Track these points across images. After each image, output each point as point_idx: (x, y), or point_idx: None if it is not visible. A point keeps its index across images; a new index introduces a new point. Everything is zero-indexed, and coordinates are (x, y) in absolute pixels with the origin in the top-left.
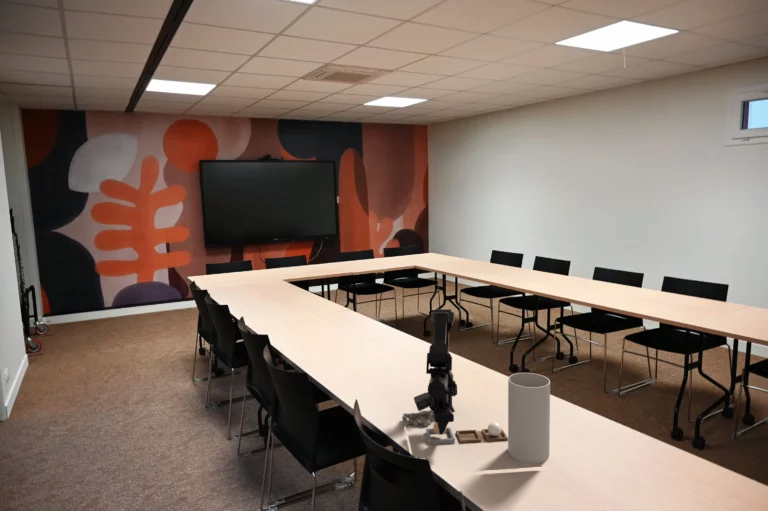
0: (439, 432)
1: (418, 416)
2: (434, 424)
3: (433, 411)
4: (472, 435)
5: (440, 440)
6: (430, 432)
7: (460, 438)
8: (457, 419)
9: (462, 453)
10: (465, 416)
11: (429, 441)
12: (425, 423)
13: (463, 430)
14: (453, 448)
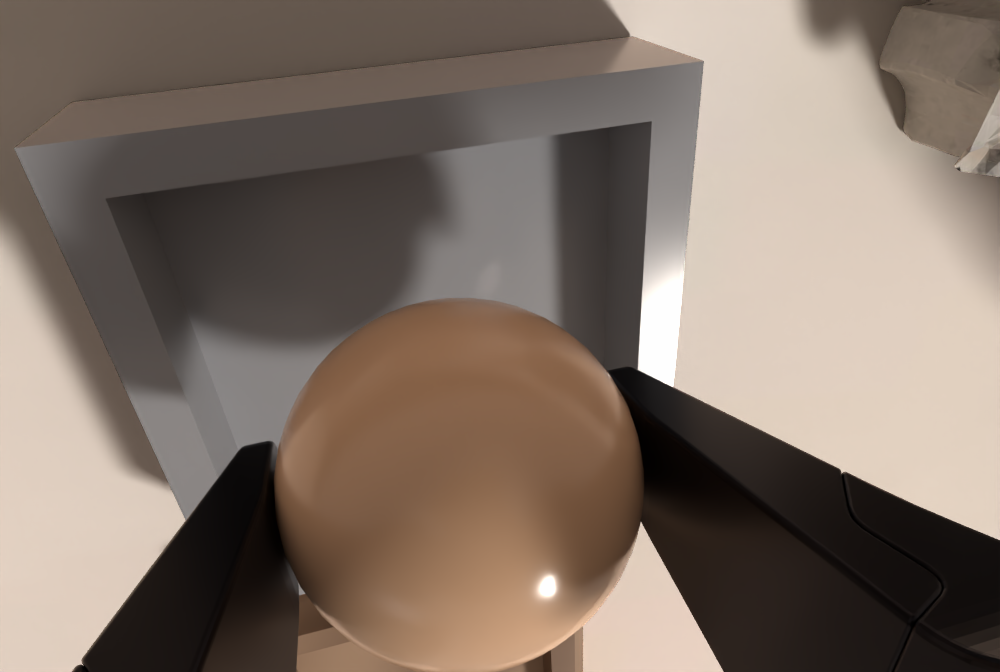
0: (225, 470)
1: None
2: (461, 428)
3: (992, 664)
4: None
5: (131, 397)
6: (617, 153)
7: (323, 641)
8: (946, 479)
9: (5, 622)
10: None
11: (69, 131)
12: (977, 55)
13: (573, 635)
14: (144, 507)
